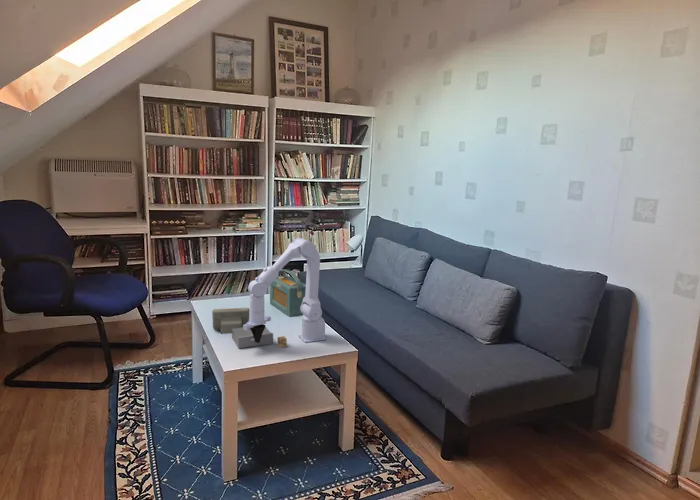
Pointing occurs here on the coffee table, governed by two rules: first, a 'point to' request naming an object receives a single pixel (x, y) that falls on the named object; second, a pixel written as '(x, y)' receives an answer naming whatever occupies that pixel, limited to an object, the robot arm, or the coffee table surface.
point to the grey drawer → (249, 340)
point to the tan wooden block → (282, 341)
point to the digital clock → (229, 318)
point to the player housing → (243, 333)
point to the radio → (287, 293)
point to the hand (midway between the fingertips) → (257, 342)
